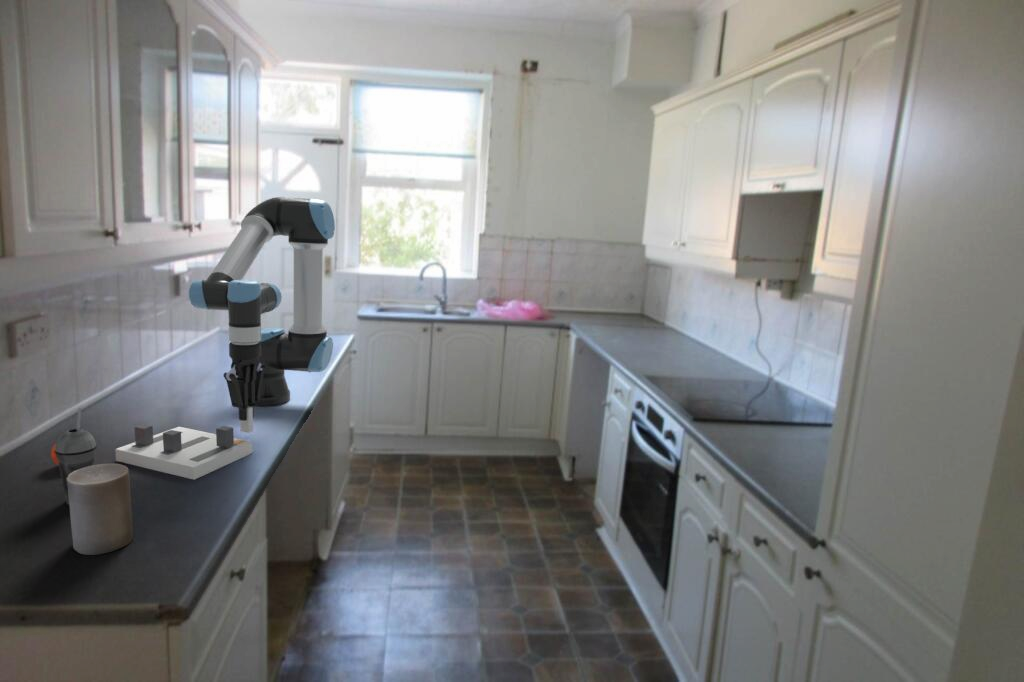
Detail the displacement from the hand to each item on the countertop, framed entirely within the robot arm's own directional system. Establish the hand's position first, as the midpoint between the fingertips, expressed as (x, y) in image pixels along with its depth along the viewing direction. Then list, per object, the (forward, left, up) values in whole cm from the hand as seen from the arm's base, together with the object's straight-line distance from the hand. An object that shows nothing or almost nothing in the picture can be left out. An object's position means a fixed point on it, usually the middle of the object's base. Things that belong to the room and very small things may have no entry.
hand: (246, 431), depth 169 cm
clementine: (+27, -27, -5) cm, 39 cm away
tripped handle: (+7, 0, -2) cm, 8 cm away
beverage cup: (+39, -9, -5) cm, 40 cm away
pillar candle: (+49, +10, -5) cm, 50 cm away
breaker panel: (+11, -9, -5) cm, 15 cm away
